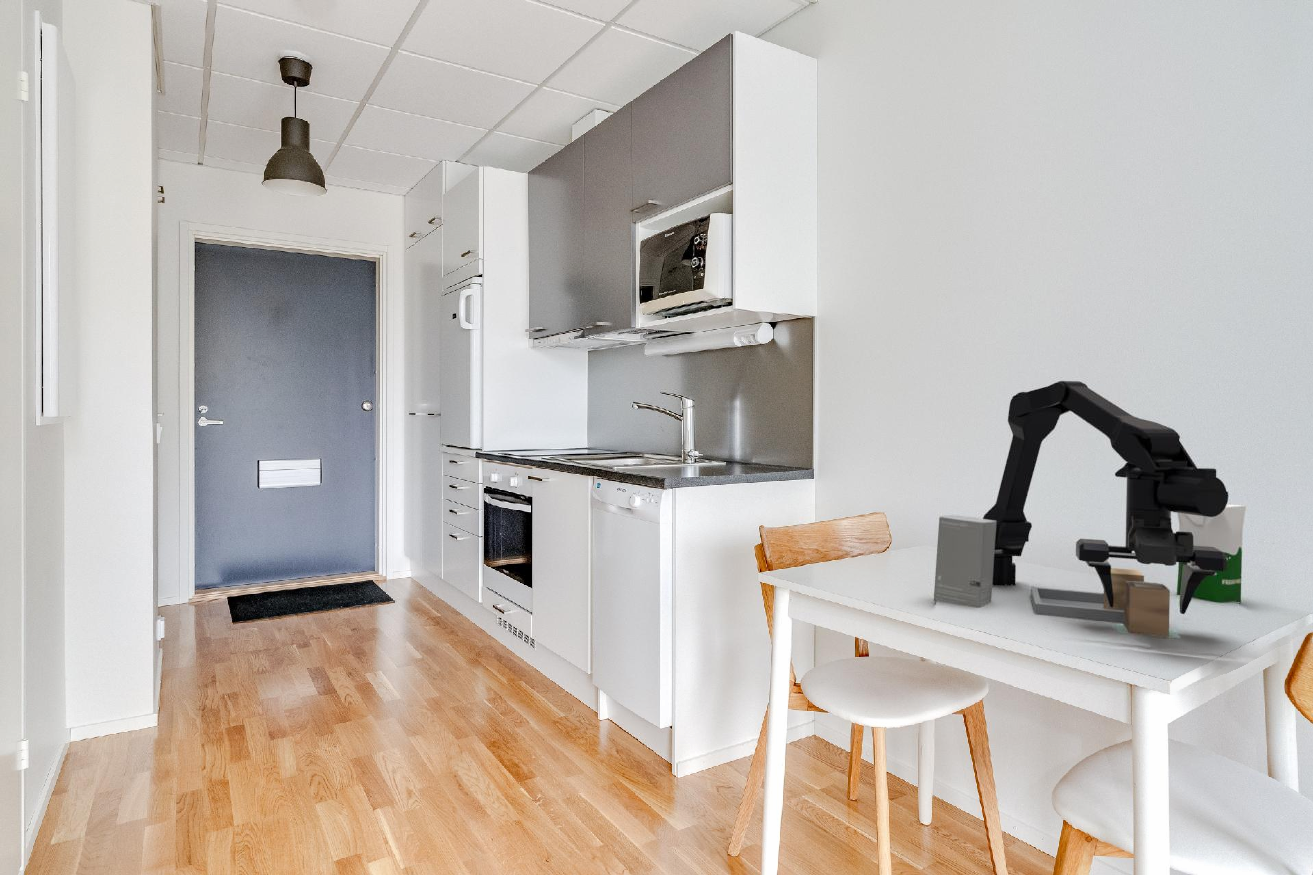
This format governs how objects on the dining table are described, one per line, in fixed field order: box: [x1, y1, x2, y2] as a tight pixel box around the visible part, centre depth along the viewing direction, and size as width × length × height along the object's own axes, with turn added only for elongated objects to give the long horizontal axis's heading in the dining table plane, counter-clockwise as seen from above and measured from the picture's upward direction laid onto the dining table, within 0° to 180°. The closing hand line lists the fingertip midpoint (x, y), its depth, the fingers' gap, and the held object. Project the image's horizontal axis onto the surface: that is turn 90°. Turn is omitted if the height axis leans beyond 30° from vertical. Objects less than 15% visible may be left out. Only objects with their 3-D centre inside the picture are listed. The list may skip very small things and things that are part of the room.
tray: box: [1030, 586, 1124, 624], centre depth 126 cm, size 18×14×2 cm
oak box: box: [1103, 567, 1145, 611], centre depth 124 cm, size 5×5×7 cm
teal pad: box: [1112, 623, 1182, 640], centre depth 113 cm, size 8×5×1 cm, turn 66°
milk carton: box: [1176, 502, 1247, 604], centre depth 136 cm, size 9×9×20 cm
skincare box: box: [933, 514, 997, 609], centre depth 132 cm, size 8×7×16 cm
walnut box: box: [1123, 581, 1171, 638], centre depth 113 cm, size 5×5×7 cm
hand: (1146, 610), depth 113 cm, fingers open, 9 cm apart
